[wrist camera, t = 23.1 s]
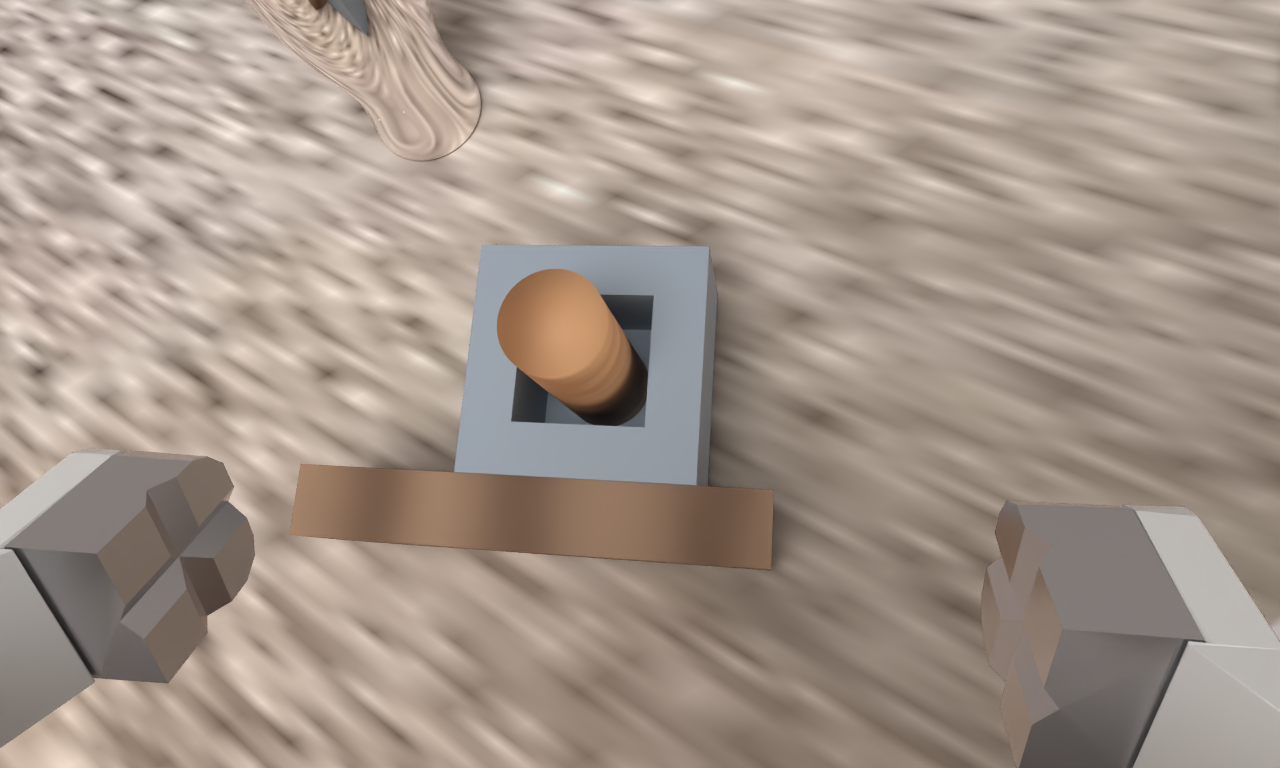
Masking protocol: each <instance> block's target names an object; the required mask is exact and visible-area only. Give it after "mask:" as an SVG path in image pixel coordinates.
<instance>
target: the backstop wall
mask: <svg viewBox="0 0 1280 768" xmlns="http://www.w3.org/2000/svg"><path fill="white" fill-rule="evenodd" d="M773 497H774V490H766V489H748V488H730V487H712V486H693V485H675V484H657V483H639V482H620V481H602V480H584V479H566V478H548V477H529V476H511V475H493V474H475V473H457V472H438V471H420V470H402V469H384V468H365V467H347V466H329V465H311V464H301V465H300V471H299V477H298V483H297V489H296V496H295V502H294V508H293V514H292V520H291V526H290V532H289V535H295V536H306V537H318V538H329V539H341V540H352V541H365V542H379V543H393V544H407V545H421V546H435V547H449V548H463V549H478V550H492V551H506V552H520V553H534V554H548V555H562V556H576V557H590V558H604V559H618V560H632V561H647V562H661V563H675V564H689V565H703V566H717V567H731V568H745V569H759V570H771V557H772V527H773Z"/></svg>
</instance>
